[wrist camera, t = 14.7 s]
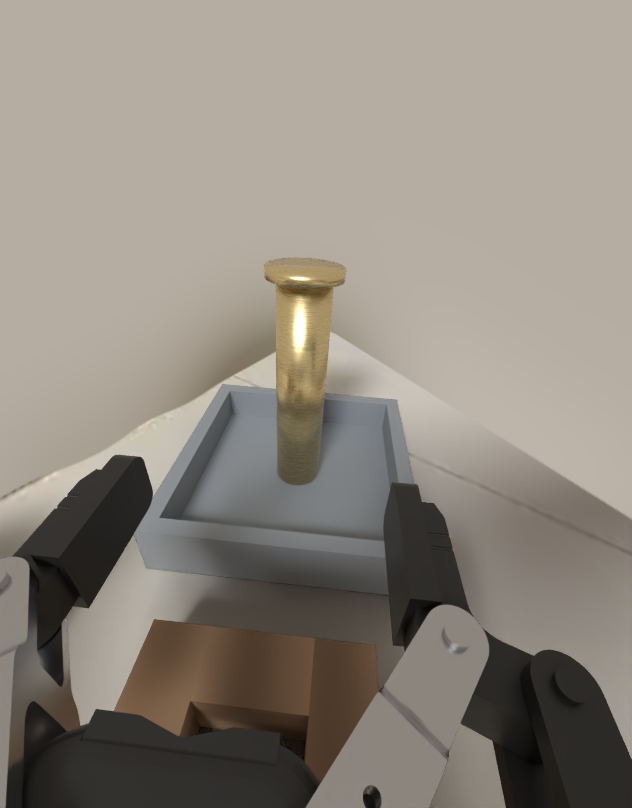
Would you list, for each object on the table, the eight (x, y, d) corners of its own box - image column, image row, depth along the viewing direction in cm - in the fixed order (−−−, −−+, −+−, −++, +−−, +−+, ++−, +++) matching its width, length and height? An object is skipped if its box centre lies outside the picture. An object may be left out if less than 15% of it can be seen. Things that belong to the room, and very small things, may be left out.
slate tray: (390, 430, 34) (396, 399, 32) (415, 598, 20) (429, 562, 19) (225, 415, 34) (222, 384, 33) (146, 568, 21) (132, 530, 19)
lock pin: (327, 453, 29) (346, 261, 21) (324, 494, 25) (345, 279, 17) (274, 448, 29) (272, 255, 21) (263, 488, 26) (255, 272, 17)
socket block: (366, 673, 17) (375, 645, 16) (381, 1141, 9) (403, 1186, 7) (166, 649, 18) (154, 619, 16) (0, 1076, 9) (-60, 1104, 8)
